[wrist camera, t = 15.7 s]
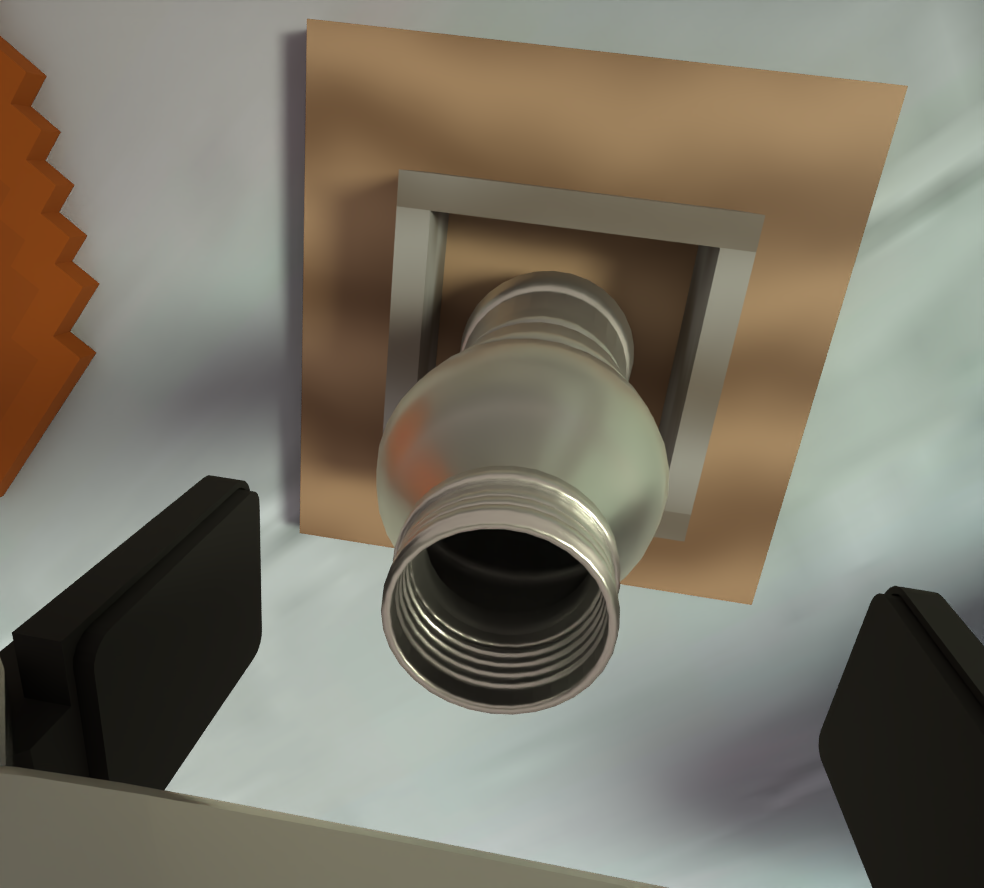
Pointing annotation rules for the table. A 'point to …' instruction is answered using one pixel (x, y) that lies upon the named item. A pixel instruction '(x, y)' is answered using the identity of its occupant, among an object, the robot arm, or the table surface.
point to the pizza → (34, 272)
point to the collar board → (583, 254)
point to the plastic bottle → (519, 499)
